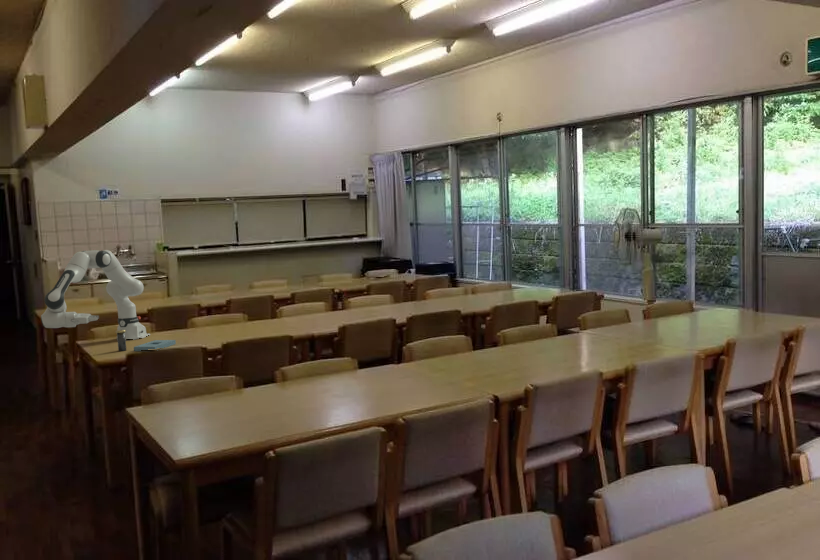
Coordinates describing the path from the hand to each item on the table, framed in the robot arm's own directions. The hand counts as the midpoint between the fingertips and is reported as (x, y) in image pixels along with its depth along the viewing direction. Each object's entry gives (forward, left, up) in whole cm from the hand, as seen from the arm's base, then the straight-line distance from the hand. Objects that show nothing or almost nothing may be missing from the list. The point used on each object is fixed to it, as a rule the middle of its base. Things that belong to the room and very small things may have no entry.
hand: (98, 317), depth 423 cm
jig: (-15, +26, -21) cm, 36 cm away
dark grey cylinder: (-6, +10, -21) cm, 24 cm away
